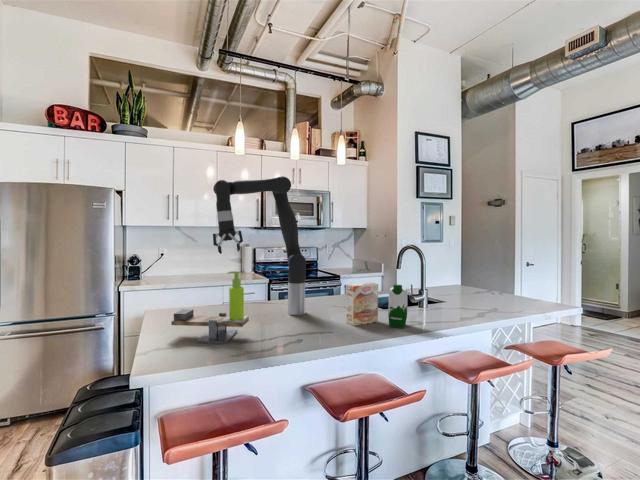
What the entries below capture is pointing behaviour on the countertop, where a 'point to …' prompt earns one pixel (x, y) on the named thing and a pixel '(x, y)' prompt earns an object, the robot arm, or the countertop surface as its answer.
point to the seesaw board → (205, 319)
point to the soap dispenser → (236, 298)
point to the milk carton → (397, 306)
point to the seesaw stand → (217, 333)
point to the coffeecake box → (361, 303)
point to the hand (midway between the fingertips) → (229, 252)
